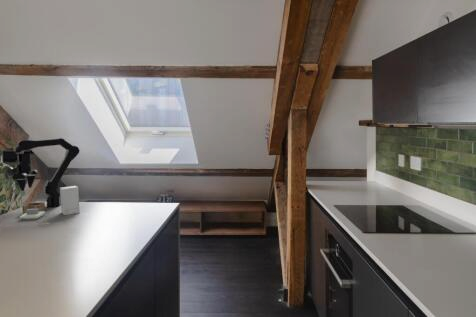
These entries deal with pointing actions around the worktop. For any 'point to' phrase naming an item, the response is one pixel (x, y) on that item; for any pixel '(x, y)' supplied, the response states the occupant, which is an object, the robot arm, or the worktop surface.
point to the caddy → (34, 206)
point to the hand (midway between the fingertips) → (26, 189)
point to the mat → (39, 217)
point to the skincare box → (69, 200)
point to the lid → (32, 214)
